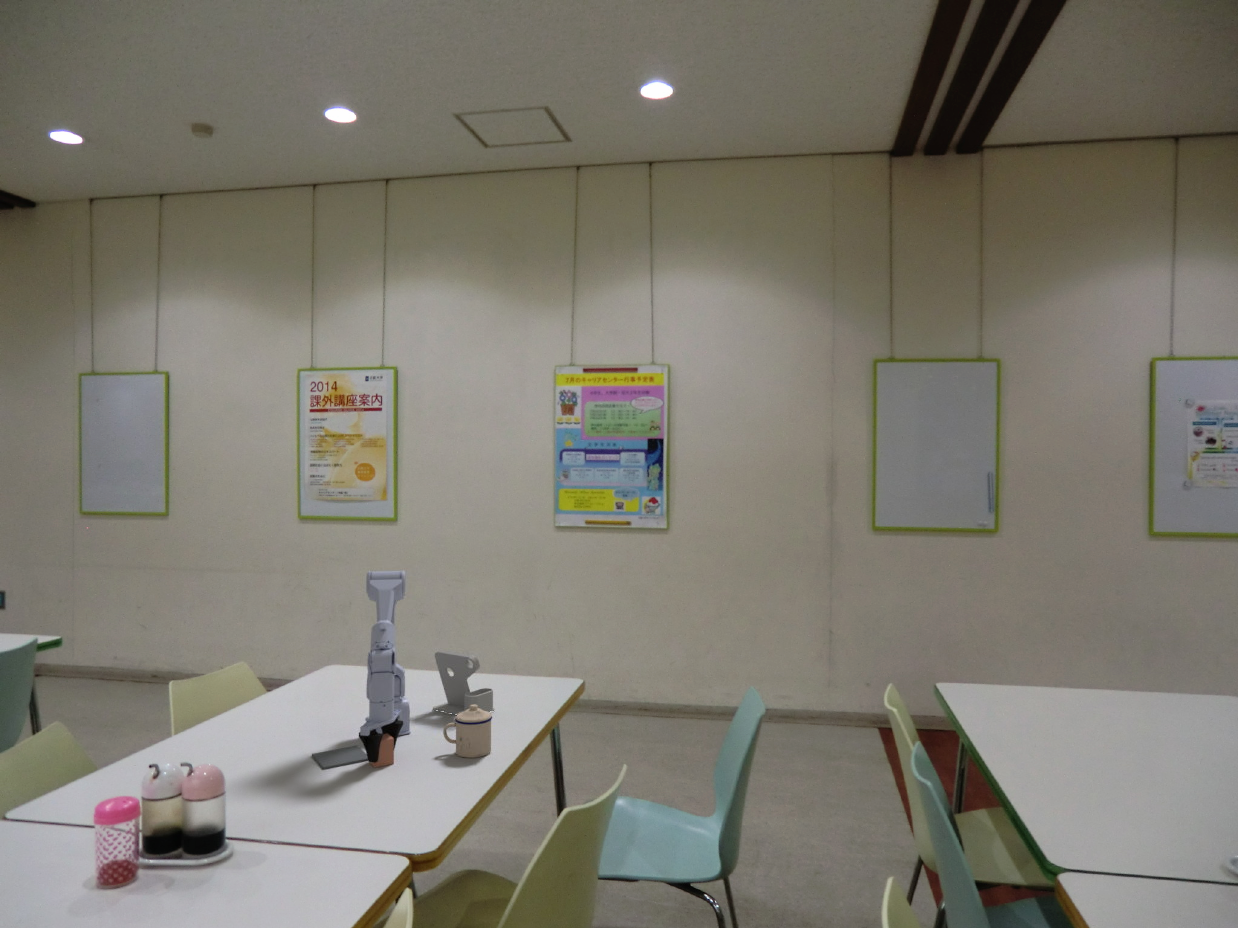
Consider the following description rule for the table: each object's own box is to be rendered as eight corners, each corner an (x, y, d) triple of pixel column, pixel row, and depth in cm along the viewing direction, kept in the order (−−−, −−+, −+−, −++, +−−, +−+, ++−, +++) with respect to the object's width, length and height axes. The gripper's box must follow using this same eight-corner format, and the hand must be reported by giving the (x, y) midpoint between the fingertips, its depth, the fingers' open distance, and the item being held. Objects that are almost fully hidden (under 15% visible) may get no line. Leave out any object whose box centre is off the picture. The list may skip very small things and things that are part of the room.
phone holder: (497, 711, 230) (497, 649, 230) (473, 719, 221) (473, 656, 222) (455, 702, 239) (455, 643, 240) (430, 710, 231) (430, 648, 231)
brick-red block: (387, 758, 190) (387, 733, 190) (393, 763, 187) (393, 738, 187) (369, 761, 188) (369, 736, 188) (374, 767, 184) (375, 741, 184)
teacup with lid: (493, 745, 199) (494, 699, 200) (489, 758, 190) (490, 710, 190) (446, 746, 199) (446, 700, 199) (440, 759, 190) (440, 710, 190)
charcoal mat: (357, 747, 198) (357, 745, 198) (370, 759, 189) (370, 757, 189) (311, 755, 192) (311, 753, 192) (323, 769, 183) (323, 767, 183)
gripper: (384, 690, 196) (383, 745, 195) (348, 706, 182) (348, 765, 181) (409, 692, 194) (408, 747, 193) (375, 708, 180) (375, 768, 179)
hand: (381, 756), depth 187 cm, fingers closed on brick-red block, 6 cm apart
